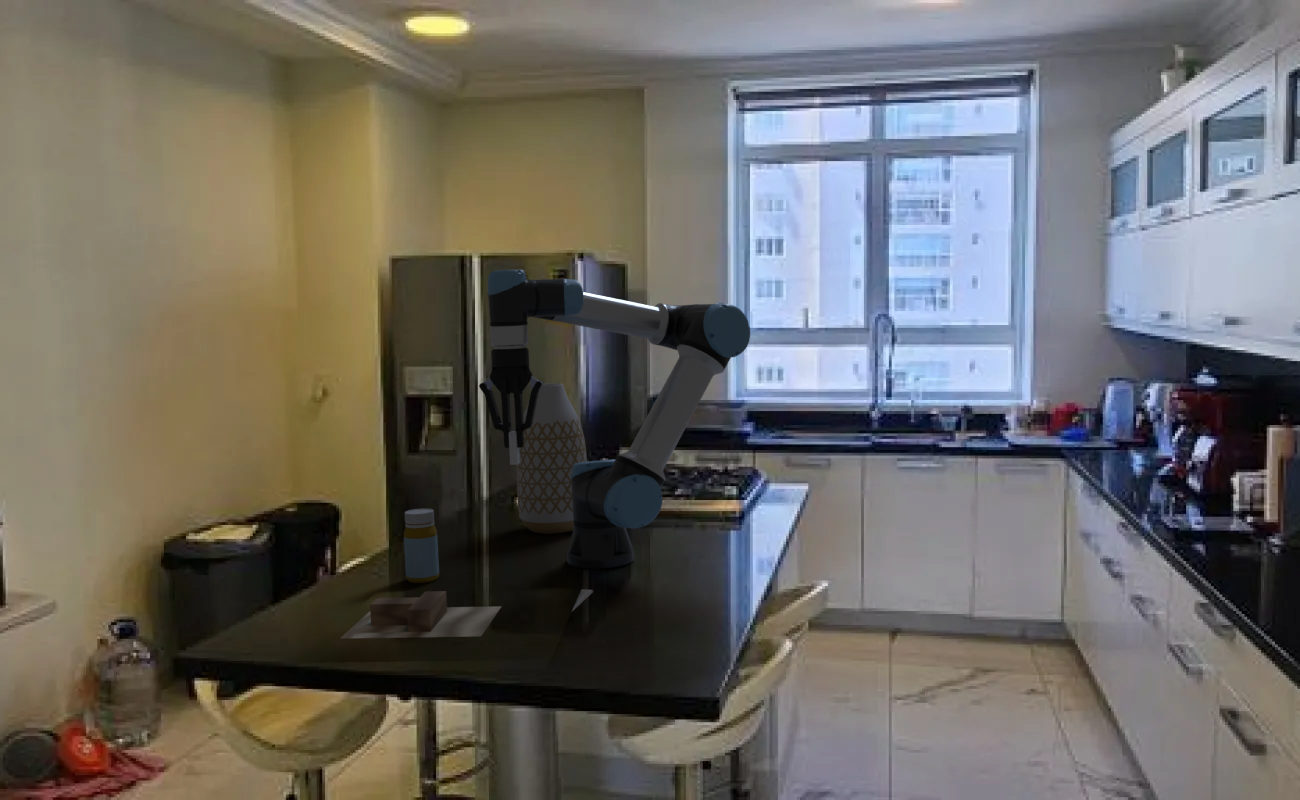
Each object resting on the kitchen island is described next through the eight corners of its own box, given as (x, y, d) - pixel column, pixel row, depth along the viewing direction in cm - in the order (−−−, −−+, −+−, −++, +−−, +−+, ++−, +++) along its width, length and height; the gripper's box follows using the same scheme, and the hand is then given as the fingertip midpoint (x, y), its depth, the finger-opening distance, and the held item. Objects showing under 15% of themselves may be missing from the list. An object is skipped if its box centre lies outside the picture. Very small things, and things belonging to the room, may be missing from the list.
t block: (447, 611, 197) (446, 591, 196) (430, 631, 185) (429, 609, 185) (384, 613, 197) (383, 592, 197) (364, 632, 186) (362, 610, 185)
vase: (529, 521, 284) (522, 382, 281) (596, 521, 281) (590, 381, 278) (510, 537, 266) (503, 388, 262) (582, 537, 263) (576, 386, 260)
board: (501, 612, 199) (501, 606, 199) (481, 642, 181) (481, 636, 181) (372, 614, 201) (372, 608, 201) (340, 645, 183) (339, 638, 183)
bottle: (431, 584, 222) (427, 514, 221) (400, 583, 223) (397, 514, 222) (444, 575, 229) (440, 508, 227) (414, 575, 230) (410, 508, 229)
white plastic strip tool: (544, 615, 198) (543, 609, 198) (569, 593, 213) (569, 588, 213) (569, 615, 197) (569, 609, 197) (593, 594, 211) (593, 588, 211)
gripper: (544, 345, 213) (549, 460, 215) (481, 347, 214) (487, 461, 216) (538, 347, 206) (544, 465, 208) (473, 349, 206) (479, 467, 208)
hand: (515, 463), depth 212 cm, fingers closed
